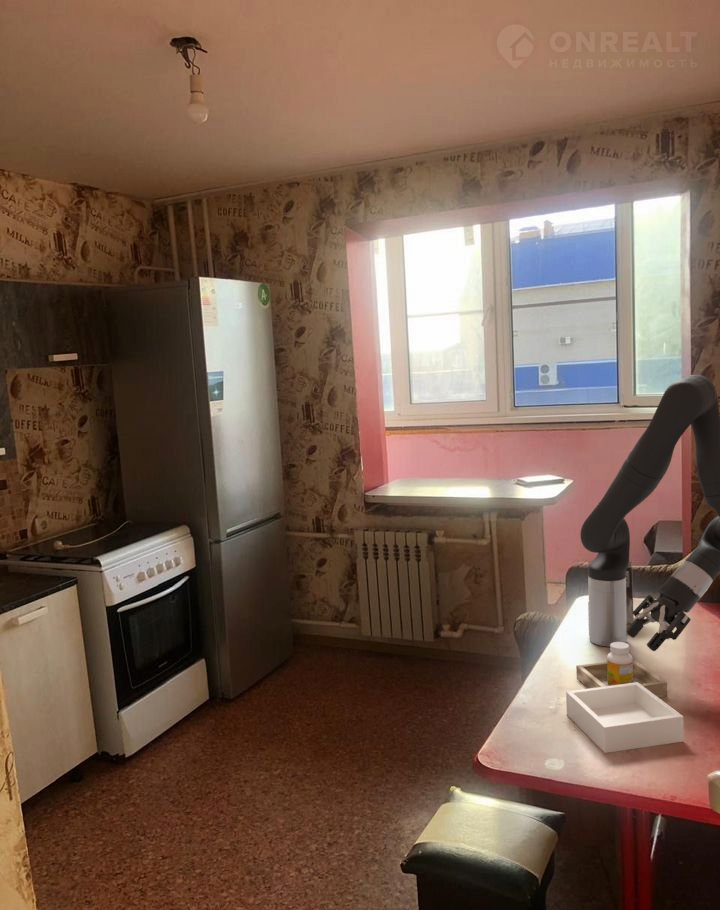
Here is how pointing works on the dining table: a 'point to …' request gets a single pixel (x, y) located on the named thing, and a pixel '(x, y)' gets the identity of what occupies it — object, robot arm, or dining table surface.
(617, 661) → the supplement bottle
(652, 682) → the frame
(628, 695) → the bin
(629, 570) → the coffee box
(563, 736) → the dining table surface
